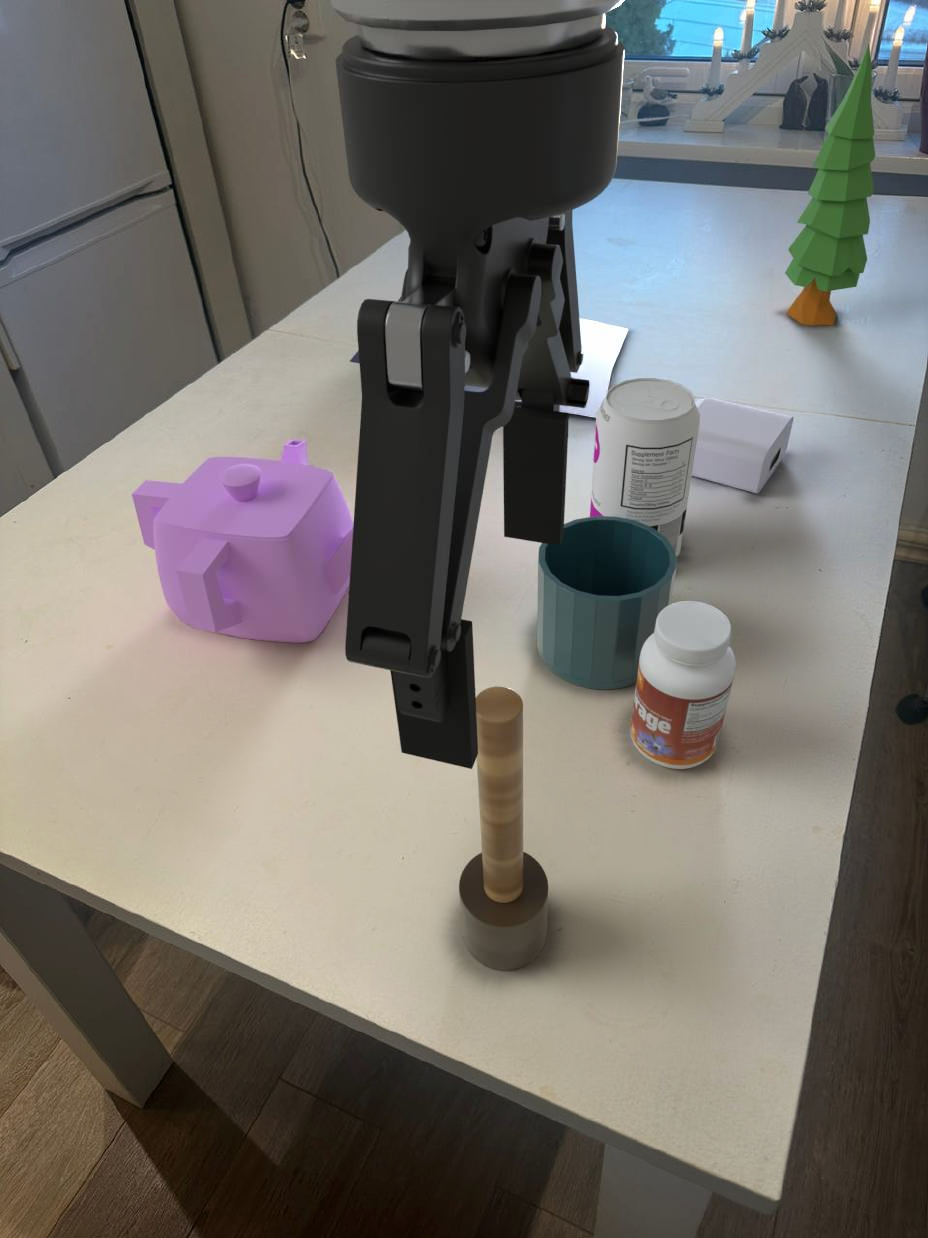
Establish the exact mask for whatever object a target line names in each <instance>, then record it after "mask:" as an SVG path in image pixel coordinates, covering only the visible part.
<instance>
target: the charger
mask: <svg viewBox="0 0 928 1238" xmlns="http://www.w3.org/2000/svg"><path fill="white" fill-rule="evenodd" d="M695 404H696V406H697V408H698V411H699V413H700V415H701V416H700V424H699V431H698V437H697V444H696V451H695V457H694V464H693V470H692V477H695V478H699V479H703V480H707V481H710V482H714V483H717V484H721V485H724V486H728V487H731V488H736V489H739V490H743V491H745V492H750V493H753V494H759V493H760V492H761V491H762V489H764V487H765V485H766V483H767V482H768V480H769V479H770V478H771V476H772V475H773V473H774V472H775V470H776V469H777V467H778V466H779V464H780V463H781V461H782V460H783V458H784V456H785V454H786V451H787V449H788V444H789V441H790V436H791V431H792V428H793V423H794V416H791V415H787V414H782V413H778V412H775V411H770V410H765V409H760V408H757V407H753V406H748V405H744V404H739V403H735V402H732V401H731V402H730V401H727V400H723V399H718V398H713V397H705V398H701V399H698V400H695Z"/></svg>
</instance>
